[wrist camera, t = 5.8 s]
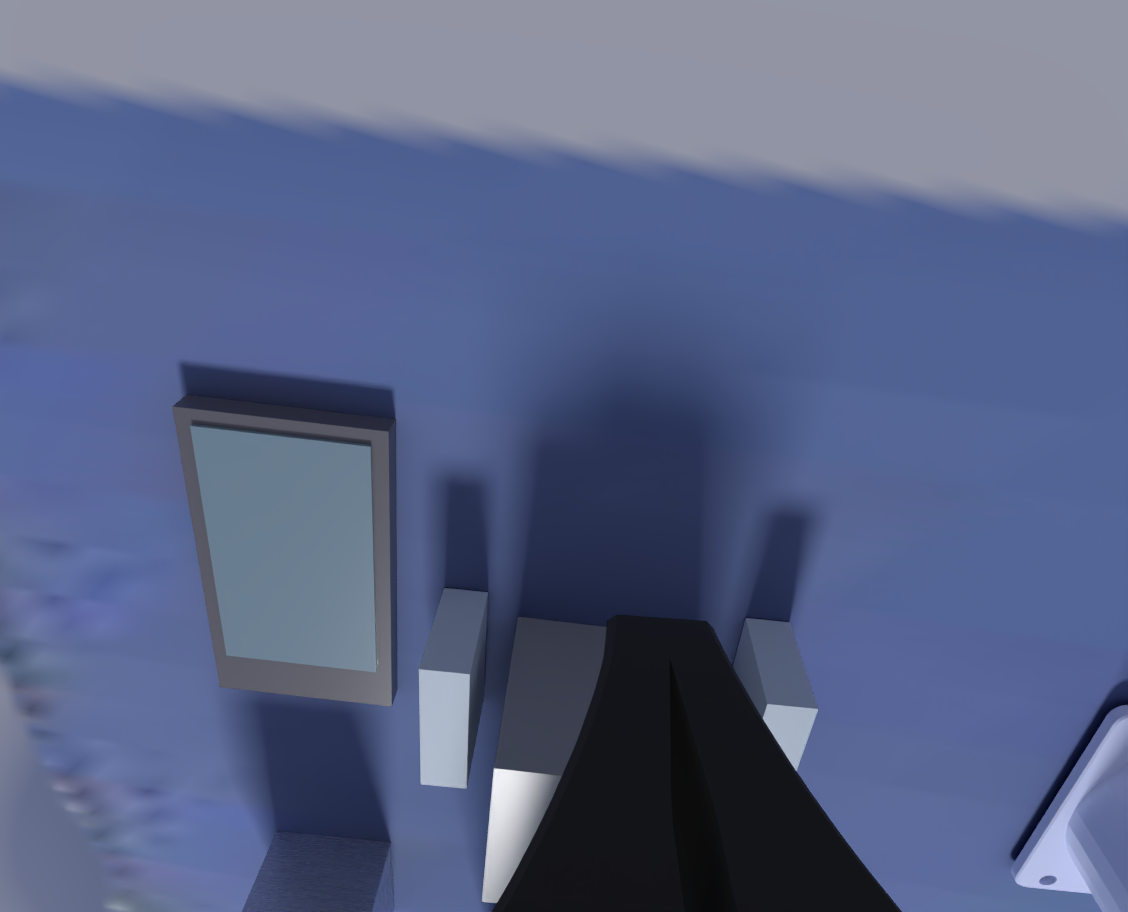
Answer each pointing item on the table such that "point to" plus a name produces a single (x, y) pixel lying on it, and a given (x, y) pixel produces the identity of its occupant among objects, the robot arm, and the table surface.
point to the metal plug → (323, 875)
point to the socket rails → (460, 668)
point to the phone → (295, 545)
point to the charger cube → (537, 734)
